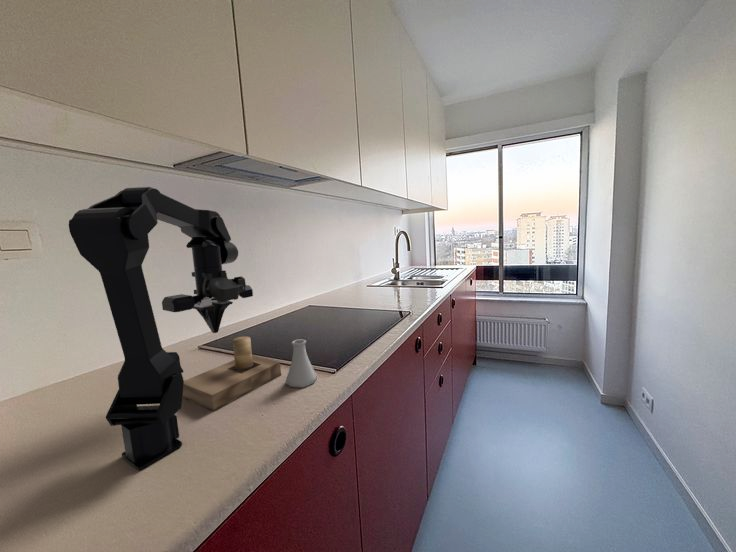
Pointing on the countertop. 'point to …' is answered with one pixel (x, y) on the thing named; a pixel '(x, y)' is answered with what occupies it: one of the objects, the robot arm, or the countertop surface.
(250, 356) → the oak peg
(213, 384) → the wooden peg board
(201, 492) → the countertop surface
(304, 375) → the flask
